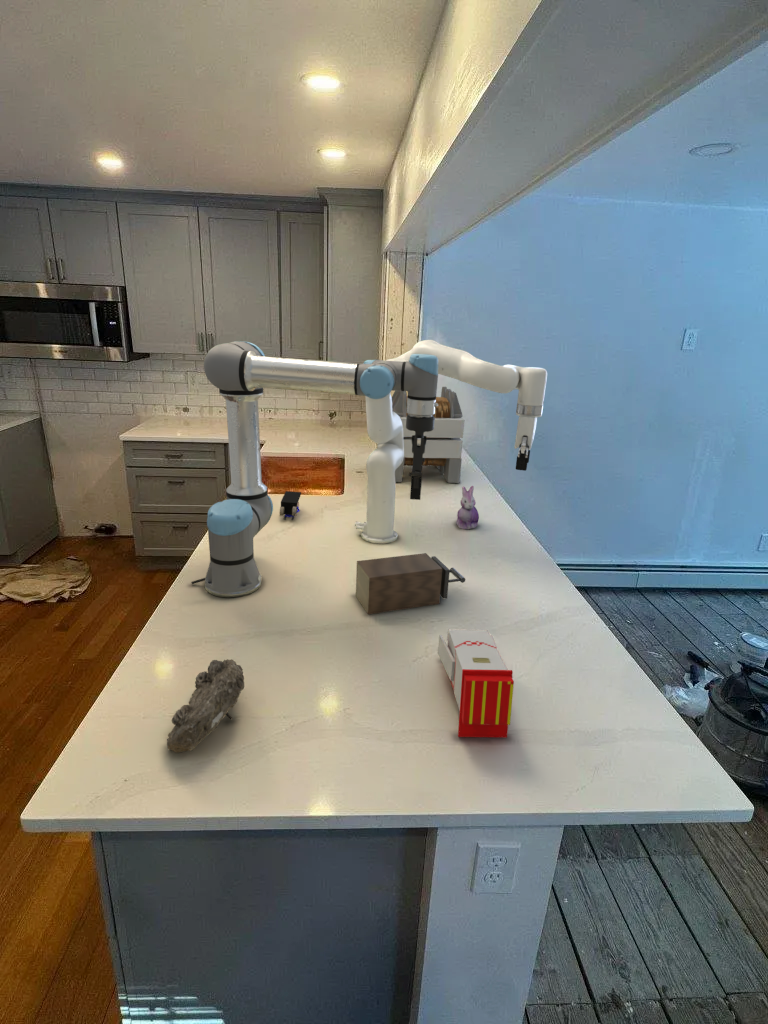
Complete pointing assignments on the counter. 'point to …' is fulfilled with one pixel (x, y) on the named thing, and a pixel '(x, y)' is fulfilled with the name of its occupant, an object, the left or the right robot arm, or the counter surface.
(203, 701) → the fossil
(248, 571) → the left robot arm
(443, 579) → the drawer
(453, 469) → the transformer
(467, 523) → the figurine
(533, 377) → the right robot arm
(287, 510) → the figurine character
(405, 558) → the cabinet
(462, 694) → the toy
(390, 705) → the counter surface
